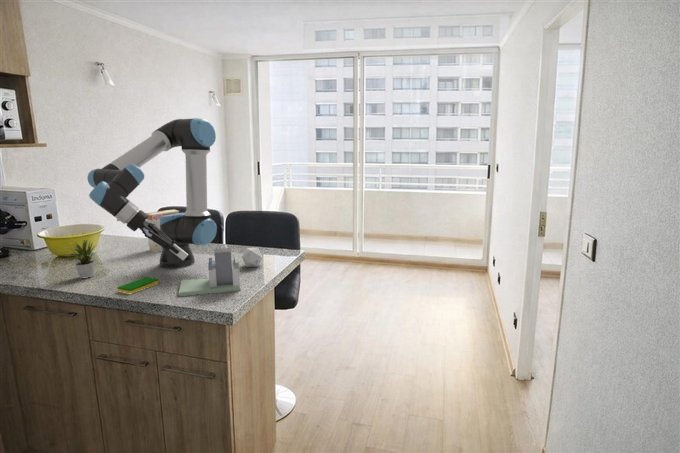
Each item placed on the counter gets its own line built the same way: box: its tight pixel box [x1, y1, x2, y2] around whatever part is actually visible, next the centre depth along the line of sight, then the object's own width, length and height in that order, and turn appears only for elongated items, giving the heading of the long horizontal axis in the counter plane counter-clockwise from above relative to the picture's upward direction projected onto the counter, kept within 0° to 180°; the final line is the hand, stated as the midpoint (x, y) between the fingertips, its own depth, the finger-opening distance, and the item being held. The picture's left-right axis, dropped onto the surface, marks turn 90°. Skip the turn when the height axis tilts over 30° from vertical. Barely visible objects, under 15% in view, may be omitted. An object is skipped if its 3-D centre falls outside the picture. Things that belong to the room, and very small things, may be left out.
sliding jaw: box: [207, 257, 217, 288], centre depth 171 cm, size 13×2×8 cm, turn 15°
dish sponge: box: [116, 276, 160, 293], centre depth 172 cm, size 7×14×2 cm, turn 156°
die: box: [241, 247, 263, 268], centre depth 198 cm, size 8×9×10 cm
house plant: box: [65, 238, 98, 279], centre depth 185 cm, size 14×14×16 cm
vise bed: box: [178, 253, 241, 297], centre depth 171 cm, size 14×22×11 cm, turn 105°
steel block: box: [214, 247, 233, 286], centre depth 171 cm, size 6×6×13 cm
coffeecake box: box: [145, 209, 180, 253], centre depth 229 cm, size 15×7×20 cm, turn 133°
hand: (185, 257), depth 167 cm, fingers closed
